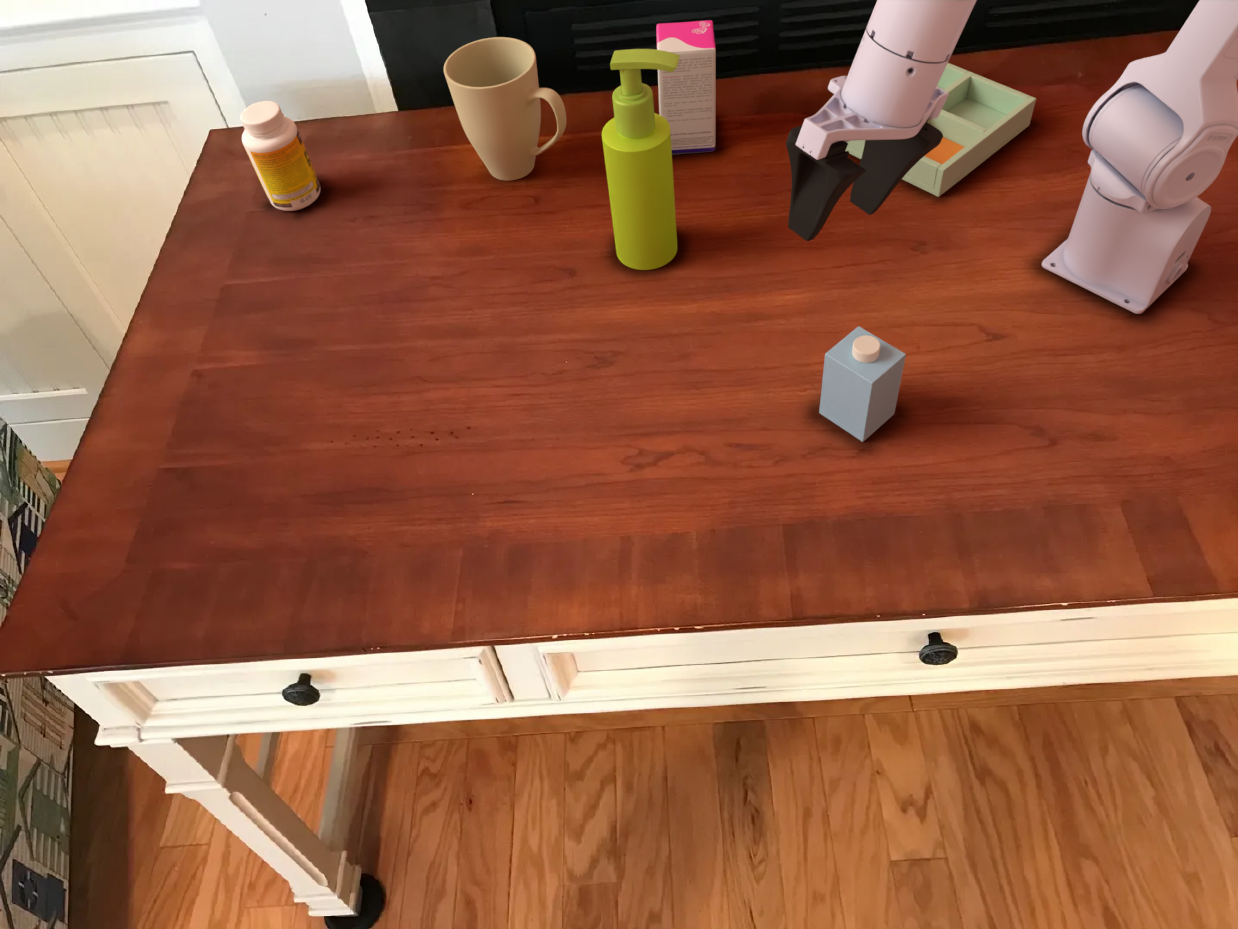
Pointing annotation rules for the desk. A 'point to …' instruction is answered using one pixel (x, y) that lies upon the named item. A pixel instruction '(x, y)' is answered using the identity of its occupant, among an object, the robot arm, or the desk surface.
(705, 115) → the supplement box
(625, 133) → the soap dispenser
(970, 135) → the tray
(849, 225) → the desk surface
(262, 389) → the desk surface
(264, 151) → the supplement bottle
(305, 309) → the desk surface
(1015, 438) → the desk surface
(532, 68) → the mug
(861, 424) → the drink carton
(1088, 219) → the robot arm
